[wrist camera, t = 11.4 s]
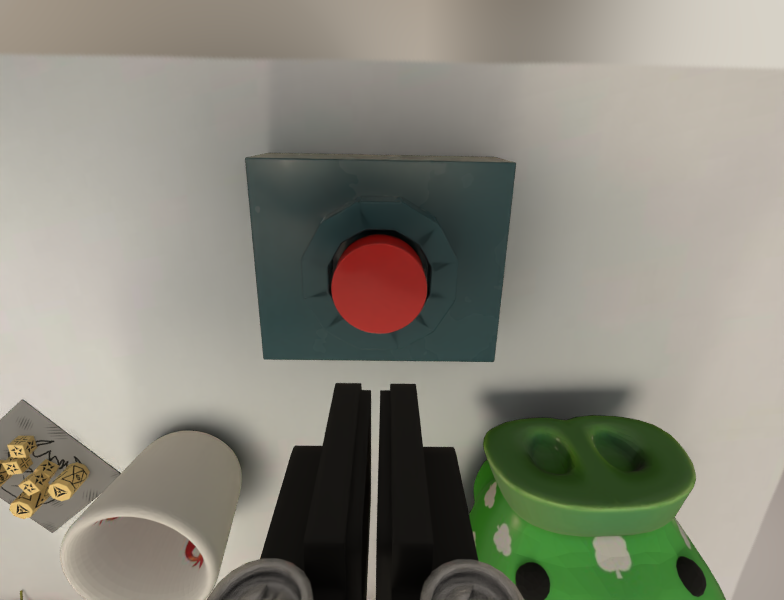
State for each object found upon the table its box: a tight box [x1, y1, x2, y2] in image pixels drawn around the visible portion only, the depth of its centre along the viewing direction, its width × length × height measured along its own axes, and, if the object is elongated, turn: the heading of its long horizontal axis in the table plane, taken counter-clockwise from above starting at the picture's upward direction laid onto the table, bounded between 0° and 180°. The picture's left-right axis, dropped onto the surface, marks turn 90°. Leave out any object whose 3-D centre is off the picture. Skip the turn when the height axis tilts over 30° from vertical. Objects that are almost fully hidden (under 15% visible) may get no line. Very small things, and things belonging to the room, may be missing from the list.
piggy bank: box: [469, 415, 726, 600], centre depth 25 cm, size 14×18×15 cm
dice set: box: [0, 435, 90, 519], centre depth 30 cm, size 5×5×2 cm
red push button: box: [331, 234, 427, 334], centre depth 20 cm, size 4×4×2 cm
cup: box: [60, 431, 242, 600], centre depth 27 cm, size 11×8×8 cm
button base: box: [245, 153, 516, 362], centre depth 23 cm, size 12×10×6 cm
